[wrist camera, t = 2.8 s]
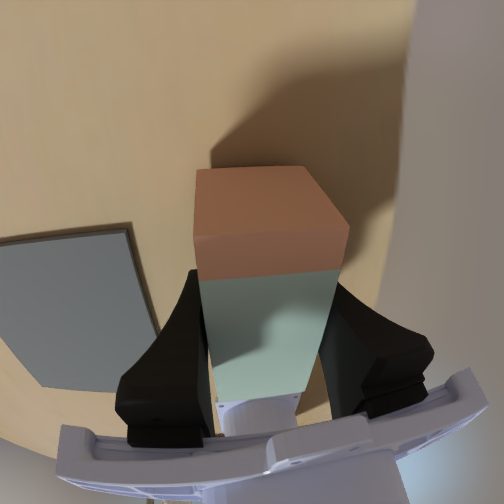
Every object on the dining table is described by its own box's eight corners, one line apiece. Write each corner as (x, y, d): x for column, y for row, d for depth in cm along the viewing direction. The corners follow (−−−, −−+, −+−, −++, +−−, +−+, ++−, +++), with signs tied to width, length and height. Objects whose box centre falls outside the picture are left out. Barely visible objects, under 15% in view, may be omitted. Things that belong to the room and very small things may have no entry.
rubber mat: (177, 388, 24) (178, 392, 23) (43, 383, 22) (42, 386, 22) (126, 228, 14) (124, 233, 14) (-48, 250, 12) (-50, 253, 12)
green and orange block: (285, 321, 19) (304, 391, 15) (212, 328, 18) (218, 402, 14) (303, 165, 13) (350, 226, 9) (196, 169, 12) (193, 236, 8)
